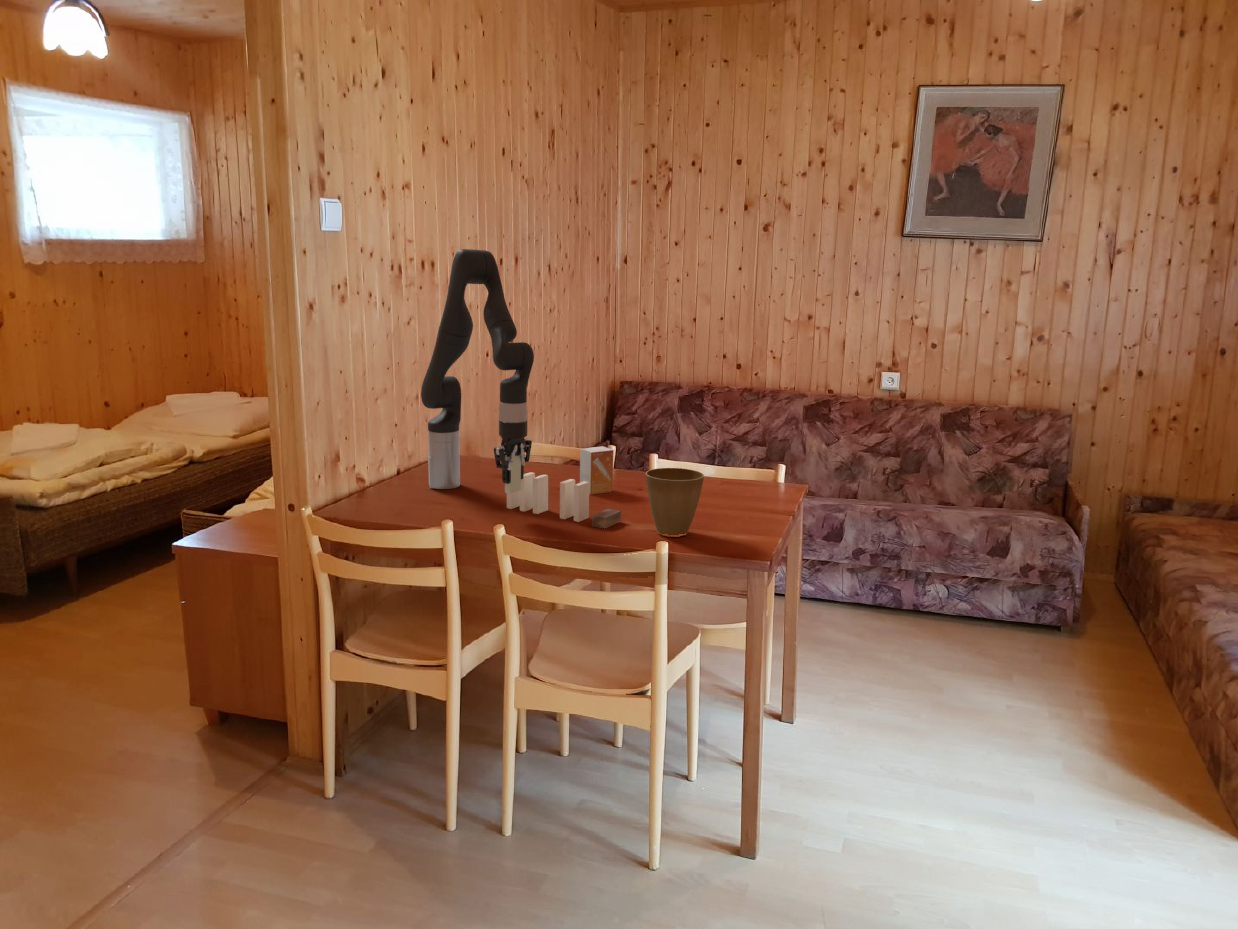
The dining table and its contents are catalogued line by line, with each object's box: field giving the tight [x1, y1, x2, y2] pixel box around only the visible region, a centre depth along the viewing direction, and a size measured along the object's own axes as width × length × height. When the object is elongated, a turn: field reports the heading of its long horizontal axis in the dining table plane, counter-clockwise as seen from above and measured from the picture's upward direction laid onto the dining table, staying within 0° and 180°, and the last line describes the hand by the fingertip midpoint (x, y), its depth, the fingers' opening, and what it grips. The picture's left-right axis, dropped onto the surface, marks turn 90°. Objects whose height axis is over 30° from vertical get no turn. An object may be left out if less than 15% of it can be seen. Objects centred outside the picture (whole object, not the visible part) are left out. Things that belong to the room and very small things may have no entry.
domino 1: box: [504, 455, 521, 494], centre depth 259 cm, size 2×5×10 cm, turn 149°
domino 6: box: [573, 481, 590, 523], centre depth 261 cm, size 2×5×10 cm, turn 149°
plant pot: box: [645, 467, 705, 535], centre depth 249 cm, size 15×15×16 cm
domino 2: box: [506, 491, 520, 510], centre depth 272 cm, size 2×5×10 cm, turn 149°
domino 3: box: [519, 471, 536, 512], centre depth 270 cm, size 2×5×10 cm, turn 149°
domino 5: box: [559, 478, 576, 520], centre depth 263 cm, size 2×5×10 cm, turn 149°
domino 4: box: [532, 473, 549, 515], centre depth 267 cm, size 2×5×10 cm, turn 149°
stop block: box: [591, 508, 622, 530], centre depth 257 cm, size 4×8×3 cm, turn 149°
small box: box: [579, 446, 614, 496], centre depth 290 cm, size 8×6×13 cm
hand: (512, 480), depth 259 cm, fingers closed on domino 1, 5 cm apart
